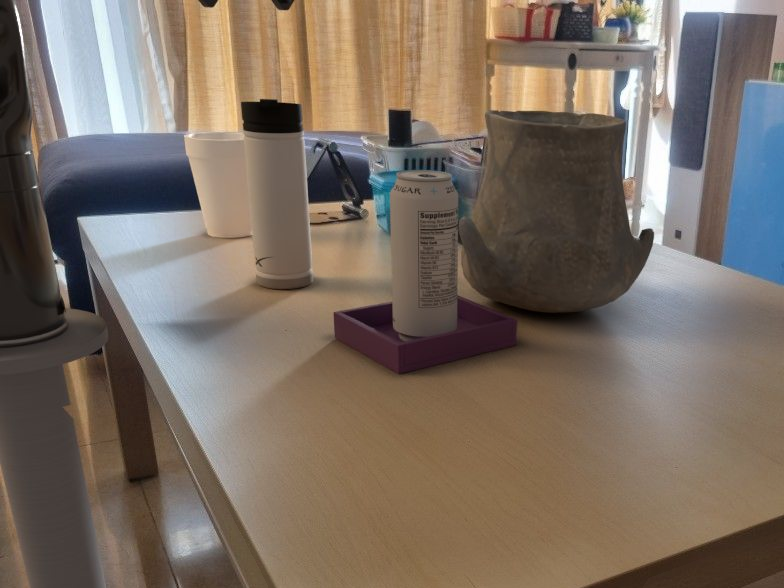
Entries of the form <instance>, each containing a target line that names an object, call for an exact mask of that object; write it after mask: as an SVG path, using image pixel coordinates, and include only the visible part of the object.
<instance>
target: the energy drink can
mask: <svg viewBox="0 0 784 588" xmlns="http://www.w3.org/2000/svg"><path fill="white" fill-rule="evenodd" d="M395 175H396V180H395V182H394V184H393V186H392V188H391V190H390V191H389V217H390V218H389V219H390V257H391V258H390V259H391V261H390V262H391V264H390V266H391V302H392V306H393V328H394V329H395V330H396V331H397V332H398V333H399V337H400V339H401V340H403V341H405V342H406V341H411V340H415V339H420V338H424V337H429V336H433V335H438V334H443V333H447V332H452V331H455V330H456V329H457V295H458V287H459V286H458V283H459V282H458V279H459V278H458V274H459V272H458V271H459V269H458V268H459V267H458V266H459V265H458V264H459V193H458V191H457V189H456V187H455V185H454V183H453V181H452V177H453V176H452V174H451V173H449V172H446V171H440V170H429V169H428V170H427V169H411V170H409V169H407V170H401V171H398V172H396V173H395Z"/></svg>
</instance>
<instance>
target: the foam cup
mask: <svg viewBox="0 0 784 588" xmlns="http://www.w3.org/2000/svg"><path fill="white" fill-rule="evenodd" d="M244 136H245V135H244V134H243V132H234V131H233V132H231V131H228V132H227V131H202V132H190V133H186V134H183V137H184V138H183V139H184V148H185V156H187V157H188V162H189V165H190V170H191V173H192V174H191V175H192V177H193V181H194V185H195V189H196V193H197V197H198V201H199V205H200V209H201V213H202V218H203V221H204V226H205V229H206V231H207V236H210V237H213V238H221V239H235V238H245V237H249V236H252V227H251V216H250V205H249V194H248V183H247V172H246V161H245V150H244V139H243V138H244Z"/></svg>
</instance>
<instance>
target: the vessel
mask: <svg viewBox="0 0 784 588" xmlns="http://www.w3.org/2000/svg"><path fill="white" fill-rule="evenodd" d="M484 120H485V125H486V132H487V152H486V160H485V170H484V175H483V178H482V181H481V185H480V187H479V192H478V195H477V199H476V202H475V205H474V208H473V211H472V213H471V216H470V217H468V216H465V215H463V216H462V217H461V218H459V220H458V235H459V238H460V240H461V243H462V248H461V252H460V253H461V254H460V265H461V269H462V274H463V277H464V278H465V280H466V281H467V283H468V284H469V286H470V287H471V288H472V289H473V290H475V291H476V292H477V293H478V294H479V295H480V296H483V297H484V298H487V299H489V300H492V301H496V302H499V303H502V304H504V305H508V306H512V307H515V308H518V309H523V310H527V311H533V312H539V313H540V312H541V313H548V314H549V313H550V314H559V313H560V314H563V313H565V314H566V313H576V312H583V311H588V310H592V309H596V308H600V307H603V306H605V305H608V304H610V303H613V302H615V301H616V300H617V299H619V298H621V297H622V296H623V295H625V294H626V293H628V291H629V290H630V289H631V287H632V286H633V285H634V284H635V282H636V281H637V279H638V277H640V274H641V273H642V271H643V269H644V268H645V266H646V264H647V261H648V260H649V257H650V255H651V251H652V249H653V246H654V240H655V231H654V229H653V228H651V227H650V228H644V229H641V231H640V233H639V236H638V237H635V236H634V235H633V233H632V230H631V226H630V220H629V212H628V208H627V207H628V206H627V202H626V196H625V189H624V188H625V187H624V181H623V179H624V178H623V146H624V140H625V134H626V130H627V120H626V119H624V118H619V117H615V116H613V115H606V114H601V113H591V112H590V113H589V112H588V113H587V112H586V113H580V114H579V113H575V112H568V111H548V110H516V111H513V110H512V111H511V110H500V111H499V110H498V109H497V110H495V109H492V110H491V109H490V110H486V111H485V113H484Z"/></svg>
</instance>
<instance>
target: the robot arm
mask: <svg viewBox="0 0 784 588" xmlns="http://www.w3.org/2000/svg"><path fill="white" fill-rule="evenodd" d="M218 1H219V0H198V2H199V3H200V4H201V6H202V7H203V8H209V9H210V8H211V9H212V8H215V6H216V4H218ZM270 1H271V3H272V4H273V5H274V6H275V8H276V9H277V10H278V11H289V10H290V8H291V7H292V5H293V4H294V2H295V0H270ZM21 22H22V21H21V18H20V13H19V9H18V5H17V1H16V0H0V348H8V347H17V346H24V345H30V344H34V343H39V342H43V341H46V340H49V339H52V338H54V337H57V336H59V335H61V334H62V333H64V332H65V331H66V330H67V328H68V324H67V319H66V318H65V314H64V313H66V309H65V308H66V305H65V304H66V303H65V300H64V298H63V295H62V293H61V288H60V283H59V277H58V272H57V267H56V261H55V258H54V252H53V247H52V242H51V237H50V231H49V226H48V220H47V214H46V210H45V205H44V200H43V199H44V198H43V194H42V189H41V184H40V178H39V173H38V167H37V162H36V157H35V152H34V146H33V140H32V125H33V117H34V116H33V104H32V96H31V90H30V82H29V76H28V75H29V74H28V69H27V60H26V52H25V43H24V42H25V41H24V35H23V29H22V28H23V27H22V23H21ZM64 310H65V312H64ZM66 315H67V314H66Z"/></svg>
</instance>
